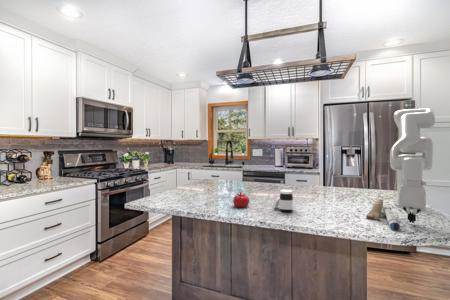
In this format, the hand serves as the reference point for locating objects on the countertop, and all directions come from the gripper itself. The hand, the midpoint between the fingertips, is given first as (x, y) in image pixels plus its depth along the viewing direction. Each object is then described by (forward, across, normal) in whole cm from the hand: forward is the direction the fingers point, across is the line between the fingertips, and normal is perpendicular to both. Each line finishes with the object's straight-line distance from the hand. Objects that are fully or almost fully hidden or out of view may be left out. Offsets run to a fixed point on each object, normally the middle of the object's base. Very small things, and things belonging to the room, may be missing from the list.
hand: (411, 221), depth 114 cm
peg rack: (+1, +16, -5) cm, 16 cm away
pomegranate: (+2, +83, +24) cm, 86 cm away
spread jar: (+2, +59, +15) cm, 61 cm away
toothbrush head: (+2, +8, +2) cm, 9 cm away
